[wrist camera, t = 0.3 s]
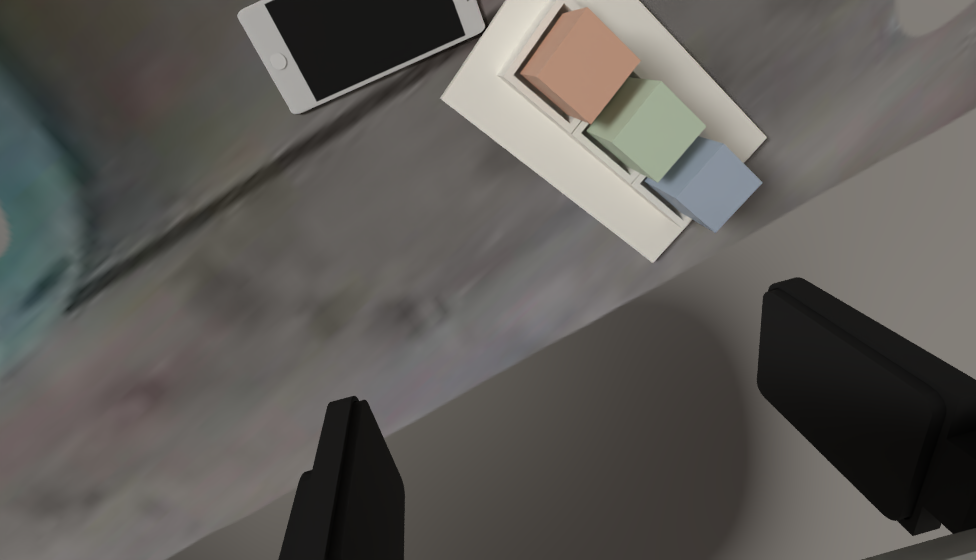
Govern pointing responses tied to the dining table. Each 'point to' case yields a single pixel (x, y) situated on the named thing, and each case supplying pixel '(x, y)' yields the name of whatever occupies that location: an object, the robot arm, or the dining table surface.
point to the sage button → (646, 127)
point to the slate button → (707, 183)
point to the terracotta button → (580, 64)
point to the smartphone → (350, 41)
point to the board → (564, 139)
